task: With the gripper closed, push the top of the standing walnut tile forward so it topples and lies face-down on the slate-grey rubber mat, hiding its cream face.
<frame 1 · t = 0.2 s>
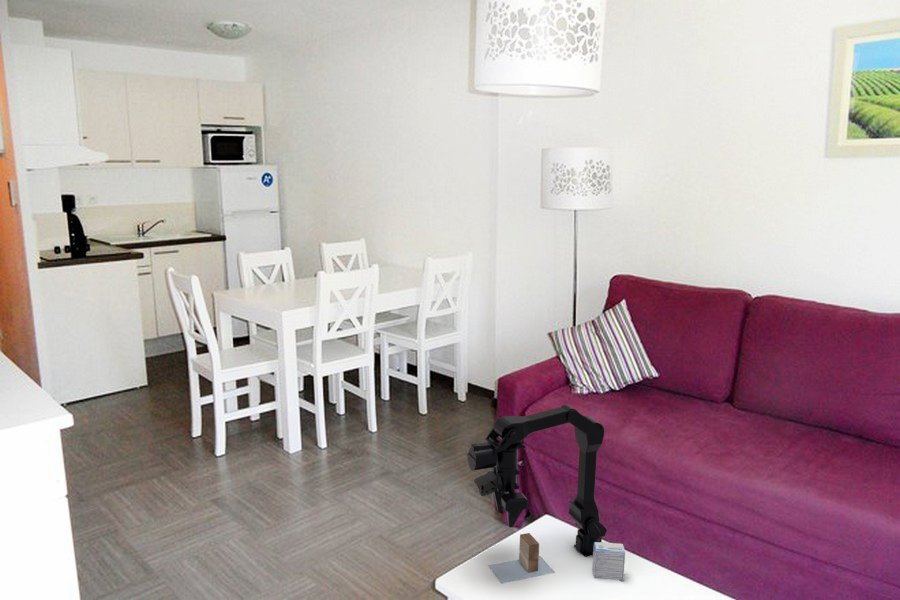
hand: (505, 518, 188), 14 cm above the table, fingers open, 9 cm apart
medicine box: (607, 576, 188), on the table
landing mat: (521, 570, 189), on the table
walnut tile: (528, 565, 191), resting on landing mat
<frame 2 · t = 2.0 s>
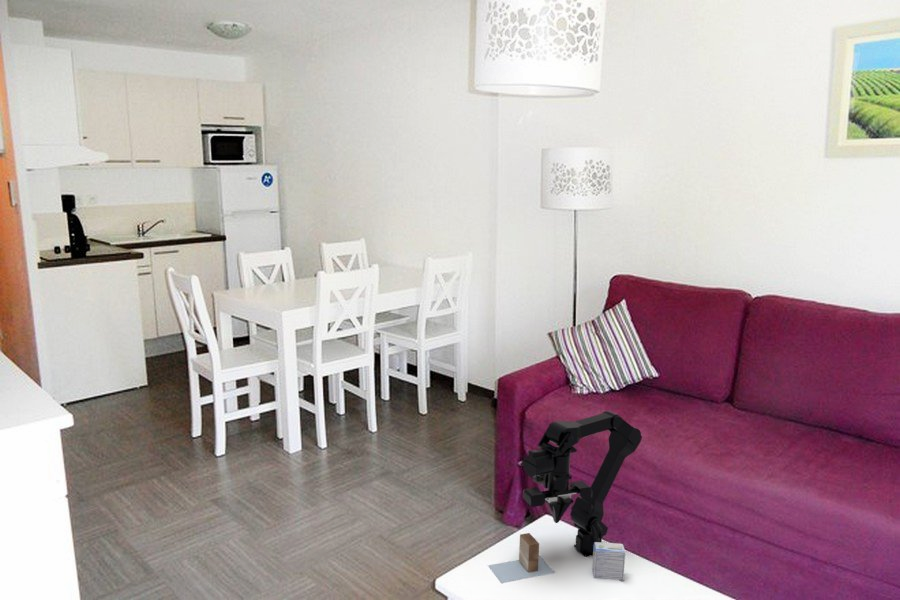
hand: (556, 522, 192), 12 cm above the table, fingers closed
nothing on the table moved.
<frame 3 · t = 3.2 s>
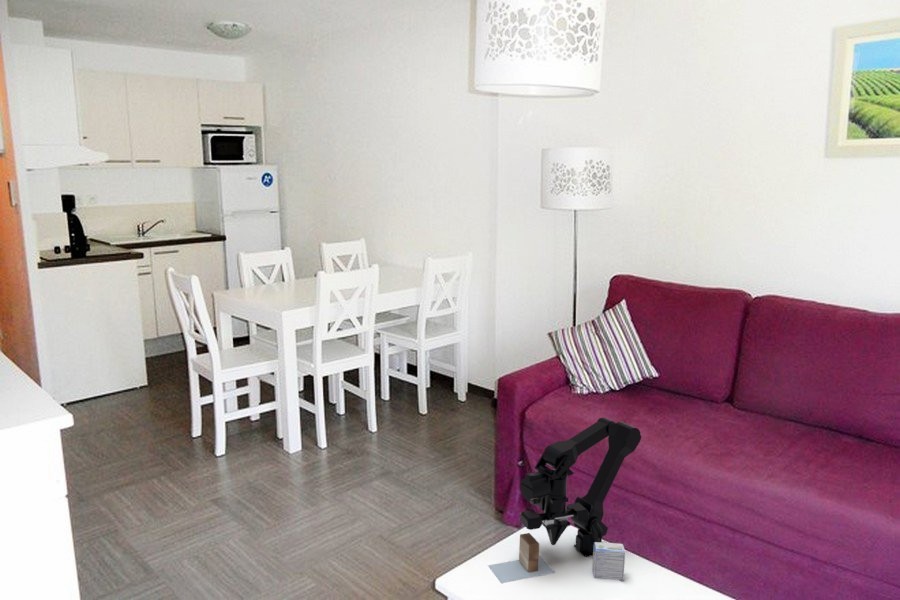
hand: (552, 544, 192), 6 cm above the table, fingers closed
nothing on the table moved.
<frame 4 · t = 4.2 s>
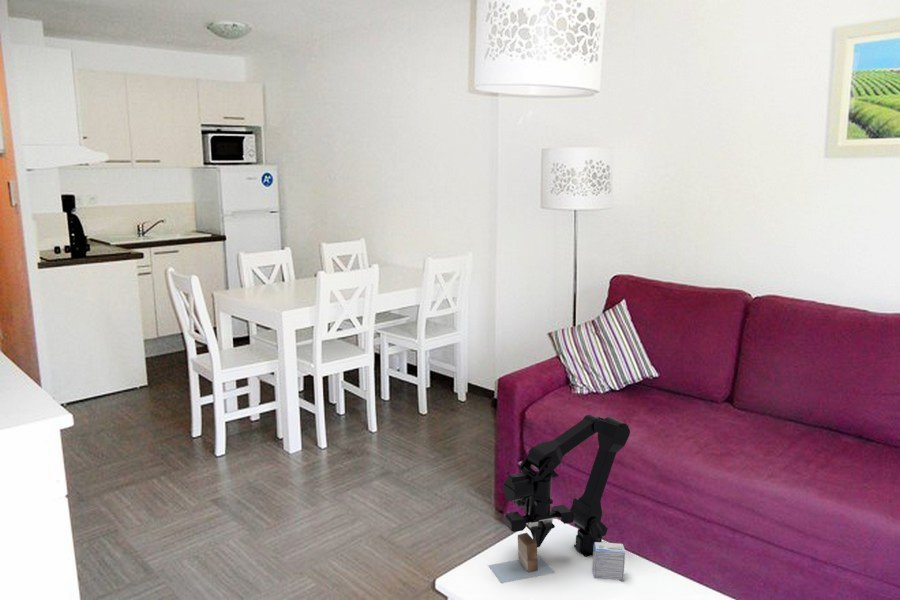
hand: (537, 546, 191), 6 cm above the table, fingers closed
walnut tile: (528, 565, 191), point 1 cm above the table, tilted 5°, touching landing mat
everything else where it was.
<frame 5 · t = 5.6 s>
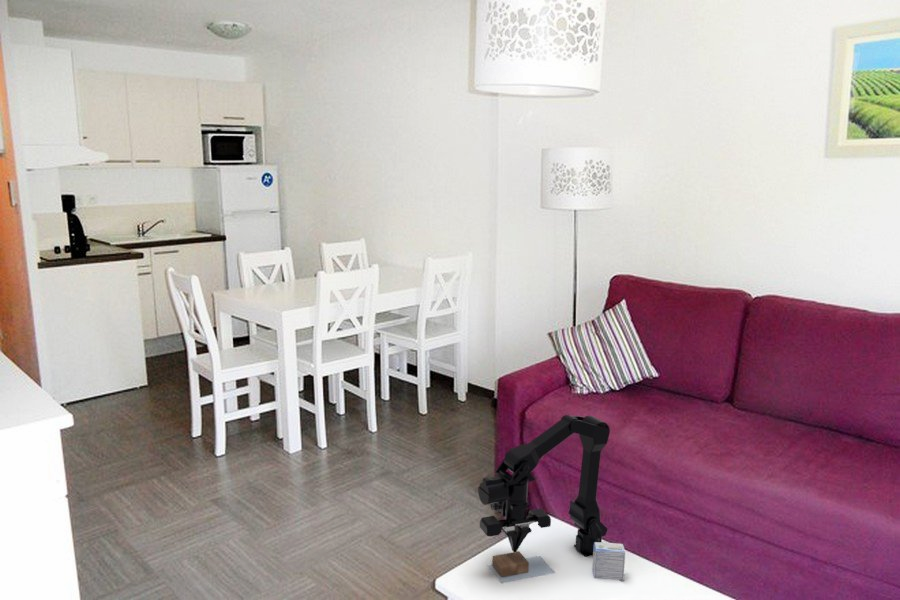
hand: (514, 551, 188), 6 cm above the table, fingers closed
walnut tile: (523, 561, 190), point 2 cm above the table, tilted 90°, touching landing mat
everything else where it was.
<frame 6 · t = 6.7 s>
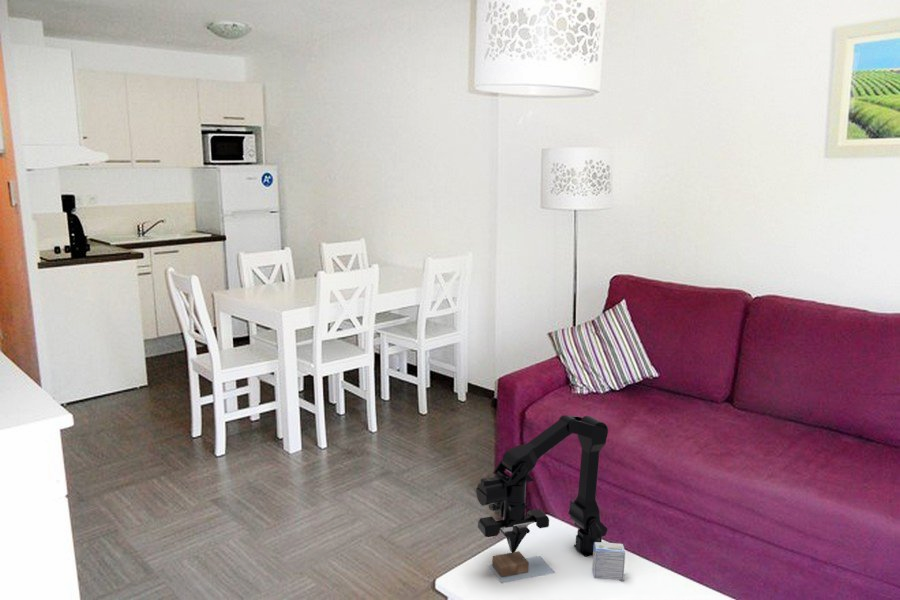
hand: (512, 551, 188), 6 cm above the table, fingers closed
nothing on the table moved.
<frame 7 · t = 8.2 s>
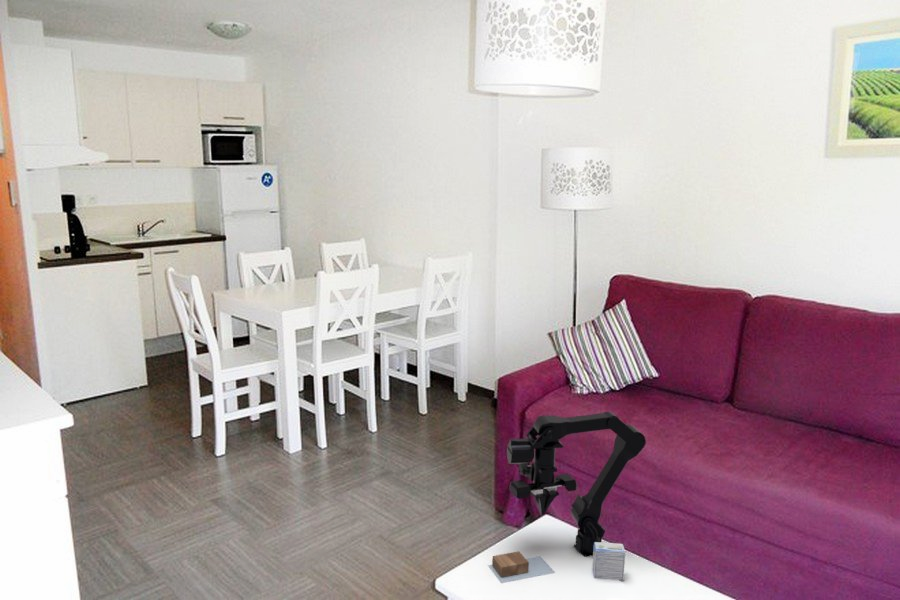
hand: (542, 514, 196), 12 cm above the table, fingers closed
nothing on the table moved.
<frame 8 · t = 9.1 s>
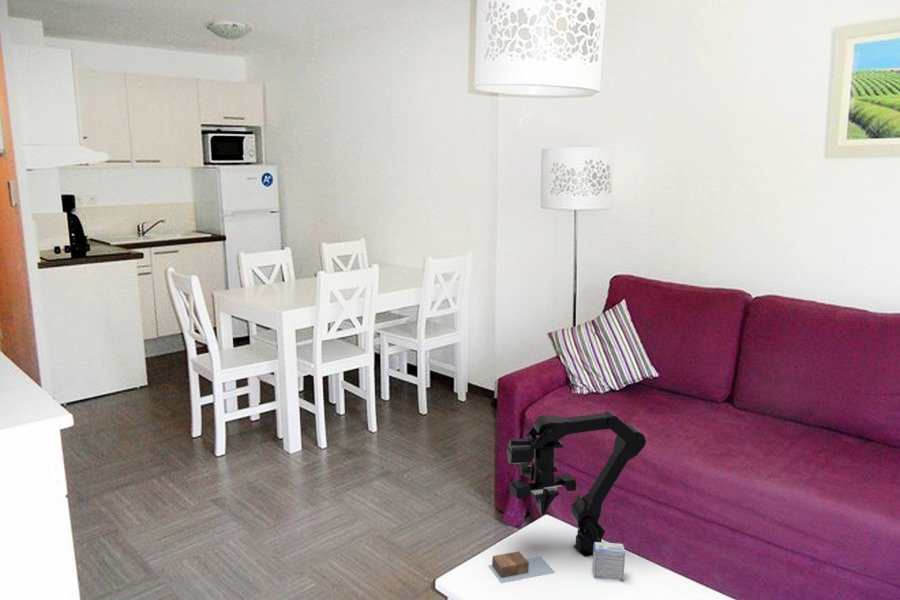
hand: (542, 514, 196), 12 cm above the table, fingers closed
nothing on the table moved.
at the end: walnut tile tilted 90°; walnut tile inside the target area (3.0 cm from its centre), point 2.0 cm above the table; walnut tile touching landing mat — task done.
